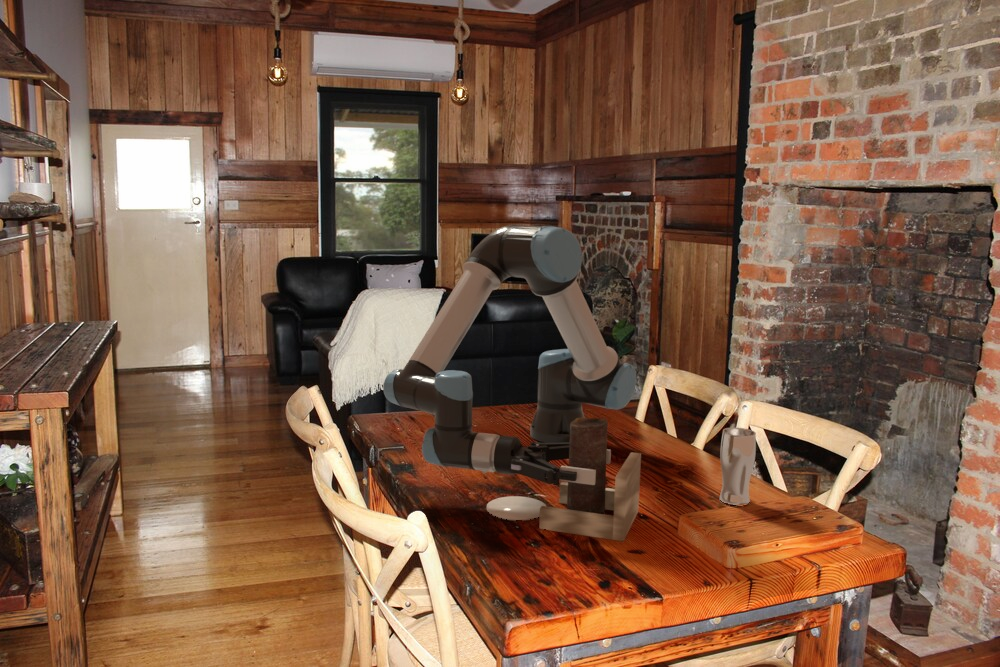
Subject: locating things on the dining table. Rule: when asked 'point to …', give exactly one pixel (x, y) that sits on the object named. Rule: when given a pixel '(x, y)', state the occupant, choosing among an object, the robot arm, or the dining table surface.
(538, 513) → the coaster
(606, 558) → the dining table surface
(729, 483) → the beer glass
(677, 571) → the dining table surface
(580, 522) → the shelf
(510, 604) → the dining table surface
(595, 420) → the candle
